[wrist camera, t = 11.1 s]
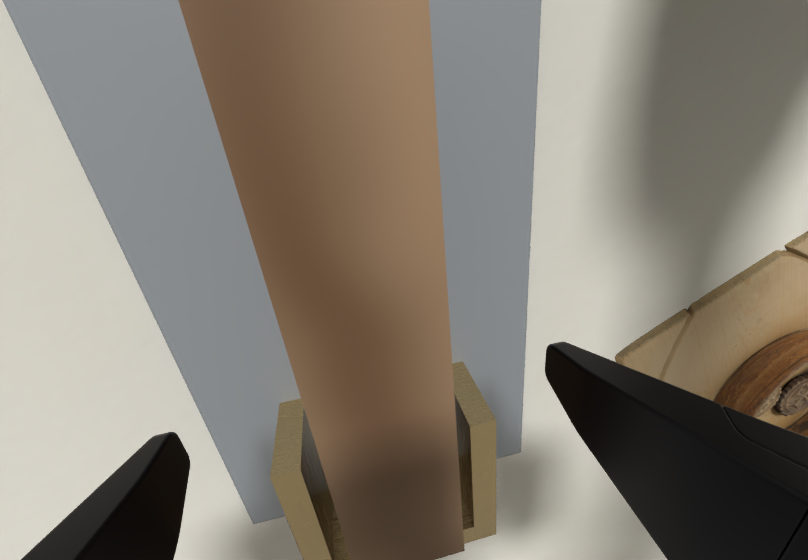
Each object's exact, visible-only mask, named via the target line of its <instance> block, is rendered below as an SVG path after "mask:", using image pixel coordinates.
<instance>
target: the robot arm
mask: <svg viewBox="0 0 808 560" xmlns="http://www.w3.org/2000/svg"><path fill="white" fill-rule="evenodd" d="M545 373H546V377H547V379H548V381H549V383H550V385H551V386H552V388H553V390H554V392H555V394H556V395H557V397H558V399H559V401H560V402H561V404H562V406H563V408H564V410H565V411H566V413H567V415H568V417H569V418H570V420H571V422H572V424H573V425H574V427H575V429H576V430H577V432H578V433H579V435H580V436H581V438H582V439H583V441H584V442H585V444H586V445H587V446H588V448H589V449H590V451H591V452H592V453H593V455H594V456H595V458H596V459H597V461H598V462H599V463H600V465H601V466H602V468H603V469H604V470H605V472H606V473H607V475H608V476H609V477H610V479H611V480H612V482H613V483H614V485H615V486H616V487H617V489H618V490H619V492H620V493H621V494H622V496H623V497H624V499H625V500H626V502H627V503H628V504H629V506H630V507H631V509H632V510H633V511H634V513H635V514H636V516H637V517H638V518H639V520H640V521H641V523H642V524H643V526H644V527H645V528H646V530H647V531H648V533H649V534H650V535H651V537H652V538H653V540H654V541H655V543H656V544H657V545H658V547H659V548H660V550H661V551H662V552H663V554H664V555H665V557H666V558H667V560H808V437H807V436H804V435H801V434H798V433H795V432H792V431H790V430H787V429H784V428H781V427H778V426H776V425H773V424H770V423H768V422H765V421H763V420H760V419H757V418H755V417H752V416H750V415H747V414H744V413H742V412H739V411H737V410H734V409H732V408H729V407H727V406H722V405H721V404H719V403H717V402H714V401H712V400H709V399H707V398H704V397H702V396H699V395H697V394H694V393H692V392H689V391H687V390H684V389H682V388H679V387H677V386H674V385H672V384H669V383H667V382H664V381H662V380H659V379H656V378H654V377H651V376H649V375H646V374H644V373H641V372H639V371H636V370H634V369H631V368H629V367H626V366H624V365H621V364H619V363H616V362H614V361H611V360H609V359H606V358H604V357H601V356H599V355H596V354H594V353H591V352H589V351H586V350H584V349H581V348H579V347H576V346H574V345H571V344H569V343H566V342H558V343H554V344H550V345H549V346H548V347H547V350H546V363H545ZM189 470H190V459H189V456H188V454H187V452H186V450H185V448H184V446H183V444H182V442H181V441H180V439H179V437H178V435H177V434H176V433H174V432H168V433H164V434H160V435H156V436H154V437H152V438H151V439H150V440H148V441H147V442H146V443H145V444H144V445H143V446H142V447H141V448H140V449H139V450H138V451H137V452H136V453H135V454H133V455H132V456H131V457H130V458H129V459H128V460H127V461H126V462H125V463H124V464H123V465H122V466H121V467H120V468H119V469H117V470H116V471H115V472H114V473H113V474H112V475H111V476H110V477H109V478H108V479H107V480H106V481H105V482H104V483H102V484H101V485H100V486H99V487H98V488H97V489H96V490H95V491H94V492H93V493H92V494H91V495H90V496H89V497H87V498H86V499H85V500H84V501H83V502H82V503H81V504H80V505H79V506H78V507H77V508H76V509H75V510H74V511H72V512H71V513H70V514H69V515H68V516H67V517H66V518H65V519H64V520H63V521H62V522H61V523H60V524H59V525H57V526H56V527H55V528H54V529H53V530H52V531H51V532H50V533H49V534H48V535H47V536H46V537H45V538H44V539H42V540H41V541H40V542H39V543H38V544H37V545H36V546H35V547H34V548H33V549H32V550H31V551H30V552H29V553H27V554H26V555H25V556H24V557H23V558H22V559H21V560H173V559H174V555H175V551H176V547H177V543H178V538H179V533H180V528H181V521H182V515H183V508H184V502H185V495H186V489H187V483H188V476H189Z"/></svg>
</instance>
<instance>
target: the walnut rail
mask: <svg viewBox="0 0 808 560" xmlns="http://www.w3.org/2000/svg"><path fill="white" fill-rule="evenodd" d="M178 1H179V4H180V8H181V11H182V14H183V17H184V20H185V24H186V27H187V30H188V33H189V37H190V40H191V43H192V46H193V50H194V53H195V56H196V59H197V63H198V66H199V69H200V72H201V76H202V79H203V82H204V85H205V89H206V92H207V95H208V98H209V101H210V105H211V108H212V111H213V114H214V118H215V121H216V124H217V127H218V131H219V134H220V137H221V140H222V144H223V147H224V150H225V153H226V157H227V160H228V163H229V166H230V169H231V173H232V176H233V179H234V182H235V186H236V189H237V192H238V195H239V199H240V202H241V205H242V208H243V212H244V215H245V218H246V221H247V225H248V228H249V231H250V234H251V238H252V241H253V244H254V247H255V250H256V254H257V257H258V260H259V263H260V267H261V270H262V273H263V276H264V280H265V283H266V286H267V289H268V293H269V296H270V299H271V302H272V306H273V309H274V312H275V315H276V319H277V322H278V325H279V328H280V331H281V335H282V338H283V341H284V344H285V348H286V351H287V354H288V357H289V361H290V364H291V367H292V370H293V374H294V377H295V380H296V383H297V387H298V390H299V393H300V396H301V400H302V403H303V406H304V409H305V412H306V416H307V419H308V422H309V425H310V429H311V432H312V435H313V438H314V442H315V445H316V448H317V451H318V455H319V458H320V461H321V464H322V468H323V471H324V474H325V477H326V481H327V484H328V487H329V490H330V493H331V497H332V500H333V503H334V506H335V510H336V513H337V516H338V519H339V523H340V526H341V529H342V532H343V536H344V539H345V542H346V545H347V549H348V552H349V555H350V558H351V560H435V559H438V558H442V557H445V556H448V555H452V554H455V553H458V552H461V551H464V537H463V521H462V506H461V491H460V475H459V460H458V444H457V429H456V413H455V398H454V382H453V367H452V351H451V336H450V320H449V305H448V289H447V274H446V258H445V243H444V227H443V212H442V196H441V181H440V166H439V150H438V135H437V119H436V104H435V88H434V73H433V57H432V42H431V26H430V11H429V0H178Z"/></svg>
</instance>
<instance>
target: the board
mask: <svg viewBox="0 0 808 560" xmlns="http://www.w3.org/2000/svg"><path fill="white" fill-rule="evenodd" d="M785 248H786V249H787V250H788V251H785V250H784V251H778V250H777V251H774V252H773V253H771V254H770V255H768V256H766V257H765V258H763V259H762V260H760V261H759V262H757V263H755V264H753V265H752V266H751V267H749V268H747V269H746V270H744V271H743V272H741V273H740V274H738V275H736V276H735V277H733V278H732V279H730V280H729V281H727V282H726V283H724V284H722V285H721V286H719V287H718V288H716V289H714V290H713V291H711V292H710V293H708V294H707V295H705V296H704V297H702V298H701V299H699V300H698V301H696V302H695V303H693V304H691V305H690V307H689V308H688V310H686V309H683V310H682V311H680V312H679V313H677V314H675V315H674V316H672V317H671V318H669V319H668V320H666V321H665V322H663V323H661V324H660V325H658V326H657V327H655V328H654V329H652V330H651V331H649V332H648V333H646V334H645V335H643V336H642V337H640V338H639V339H637V340H636V341H634V342H633V343H632V344H630V345H629V346H627V347H626V348H624V349H623V350H622V351H620V352H619V353H618V354H617V355H616V356H615V360H616V363H619V364H621V365H624V366H626V367H629V368H631V369H634V370H636V371H639V372H641V373H644V374H646V375H649V376H651V377H654V378H656V379H659V380H662V381H664V382H667V383H669V384H672V385H674V386H677V387H679V388H682V389H684V390H687V391H689V392H692V393H694V394H697V395H699V396H702V397H704V398H707V399H709V400H712V401H714V402H717V403H719V404H721V405H722V406H727V407H729V408H732V409H734V410H737V411H739V412H742V413H744V414H747V415H750V416H752V417H755V418H757V419H760V420H763V421H765V422H768V423H770V424H773V425H776V426H778V427H781V428H784V429H787V430H790V431H792V432H795V433H798V434H801V435H804V436H807V437H808V231H807V232H806V233H804V234H802V235H801V236H799V237H797V238H796V239H794V240H792V241H791V242H789V243H787V244H786V245H785Z"/></svg>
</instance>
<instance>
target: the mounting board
mask: <svg viewBox="0 0 808 560" xmlns="http://www.w3.org/2000/svg"><path fill="white" fill-rule="evenodd" d="M3 2H4V4H5V6H6V9H7V11H8V13H9V15H10V17H11V19H12V21H13V23H14V25H15V27H16V29H17V32H18V34H19V36H20V38H21V40H22V42H23V44H24V46H25V48H26V50H27V52H28V54H29V57H30V59H31V61H32V63H33V65H34V67H35V69H36V71H37V73H38V75H39V77H40V80H41V82H42V84H43V86H44V88H45V90H46V92H47V94H48V96H49V98H50V100H51V102H52V105H53V107H54V109H55V111H56V113H57V115H58V117H59V119H60V121H61V123H62V125H63V128H64V130H65V132H66V134H67V136H68V138H69V140H70V142H71V144H72V146H73V148H74V150H75V153H76V155H77V157H78V159H79V161H80V163H81V165H82V167H83V169H84V171H85V173H86V176H87V178H88V180H89V182H90V184H91V186H92V188H93V190H94V192H95V194H96V196H97V199H98V201H99V203H100V205H101V207H102V209H103V211H104V213H105V215H106V217H107V219H108V221H109V224H110V226H111V228H112V230H113V232H114V234H115V236H116V238H117V240H118V242H119V244H120V247H121V249H122V251H123V253H124V255H125V257H126V259H127V261H128V263H129V265H130V267H131V269H132V272H133V274H134V276H135V278H136V280H137V282H138V284H139V286H140V288H141V290H142V292H143V295H144V297H145V299H146V301H147V303H148V305H149V307H150V309H151V311H152V313H153V315H154V318H155V320H156V322H157V324H158V326H159V328H160V330H161V332H162V334H163V336H164V338H165V340H166V343H167V345H168V347H169V349H170V351H171V353H172V355H173V357H174V359H175V361H176V363H177V366H178V368H179V370H180V372H181V374H182V376H183V378H184V380H185V382H186V384H187V386H188V388H189V391H190V393H191V395H192V397H193V399H194V401H195V403H196V405H197V407H198V409H199V411H200V414H201V416H202V418H203V420H204V422H205V424H206V426H207V428H208V430H209V432H210V434H211V437H212V439H213V441H214V443H215V445H216V447H217V449H218V451H219V453H220V455H221V457H222V459H223V462H224V464H225V466H226V468H227V470H228V472H229V474H230V476H231V478H232V480H233V482H234V485H235V487H236V489H237V491H238V493H239V495H240V497H241V499H242V501H243V503H244V505H245V507H246V510H247V512H248V514H249V516H250V518H251V520H252V522H253V524H256V523H260V522H264V521H267V520H271V519H275V518H278V517H282V516H285V513H284V511H283V508H282V506H281V504H280V501H279V499H278V496H277V494H276V491H275V489H274V486H273V484H272V482H271V479H270V474H271V466H272V458H273V450H274V443H275V435H276V427H277V419H278V411H279V403H282V402H286V401H291V400H295V399H300V398H301V396H300V393H299V390H298V387H297V383H296V380H295V377H294V374H293V370H292V367H291V364H290V361H289V357H288V354H287V351H286V348H285V344H284V341H283V338H282V335H281V331H280V328H279V325H278V322H277V319H276V315H275V312H274V309H273V306H272V302H271V299H270V296H269V293H268V289H267V286H266V283H265V280H264V276H263V273H262V270H261V267H260V263H259V260H258V257H257V254H256V250H255V247H254V244H253V241H252V238H251V234H250V231H249V228H248V225H247V221H246V218H245V215H244V212H243V208H242V205H241V202H240V199H239V195H238V192H237V189H236V186H235V182H234V179H233V176H232V173H231V169H230V166H229V163H228V160H227V157H226V153H225V150H224V147H223V144H222V140H221V137H220V134H219V131H218V127H217V124H216V121H215V118H214V114H213V111H212V108H211V105H210V101H209V98H208V95H207V92H206V89H205V85H204V82H203V79H202V76H201V72H200V69H199V66H198V63H197V59H196V56H195V53H194V50H193V46H192V43H191V40H190V37H189V33H188V30H187V27H186V24H185V20H184V17H183V14H182V11H181V8H180V4H179V1H178V0H3ZM429 11H430V26H431V42H432V57H433V73H434V88H435V104H436V119H437V135H438V150H439V166H440V181H441V196H442V212H443V227H444V243H445V258H446V274H447V289H448V305H449V320H450V336H451V351H452V364H453V363H457V362H462V361H463V362H464V364H465V366H466V368H467V369H468V371H469V373H470V375H471V376H472V378H473V380H474V382H475V384H476V385H477V387H478V389H479V391H480V392H481V394H482V396H483V398H484V399H485V401H486V403H487V405H488V406H489V408H490V410H491V412H492V413H493V415H494V417H495V419H496V459H497V458H501V457H504V456H508V455H512V454H515V453H519V452H521V433H522V411H523V389H524V367H525V345H526V323H527V301H528V279H529V257H530V235H531V213H532V191H533V169H534V147H535V126H536V104H537V82H538V60H539V38H540V16H541V0H429Z"/></svg>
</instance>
